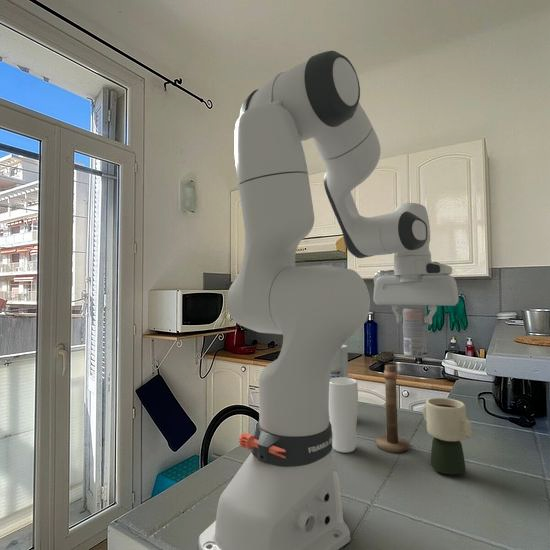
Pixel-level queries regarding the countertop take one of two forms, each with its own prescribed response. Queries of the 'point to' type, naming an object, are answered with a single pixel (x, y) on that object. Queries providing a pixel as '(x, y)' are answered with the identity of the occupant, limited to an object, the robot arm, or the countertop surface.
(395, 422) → the post
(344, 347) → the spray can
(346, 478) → the countertop surface
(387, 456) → the countertop surface
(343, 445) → the white tumbler
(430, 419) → the character mug
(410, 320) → the energy drink
